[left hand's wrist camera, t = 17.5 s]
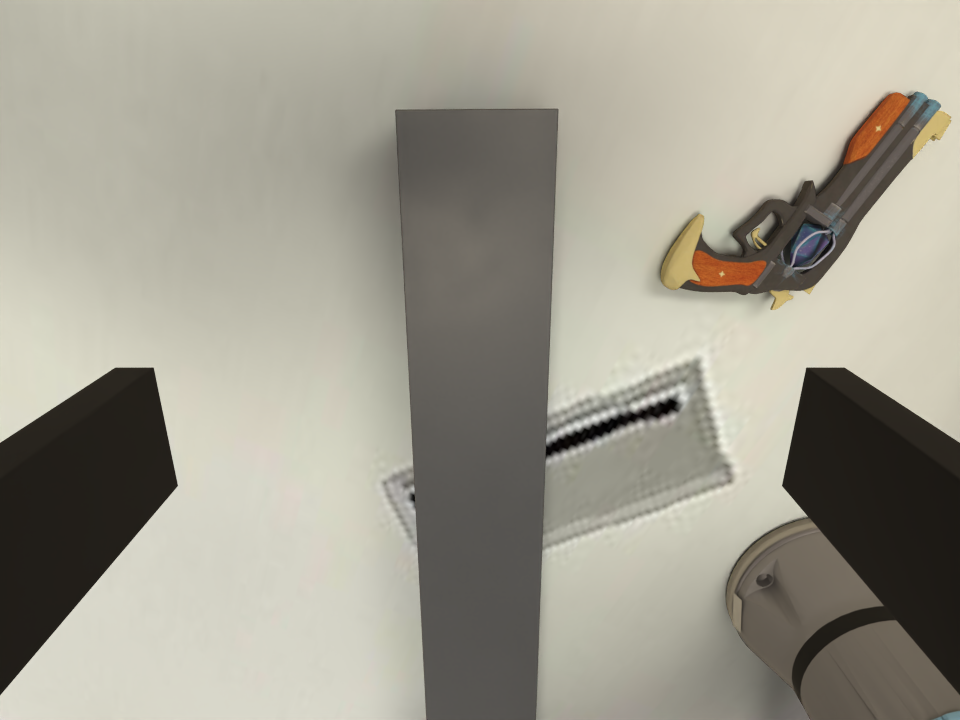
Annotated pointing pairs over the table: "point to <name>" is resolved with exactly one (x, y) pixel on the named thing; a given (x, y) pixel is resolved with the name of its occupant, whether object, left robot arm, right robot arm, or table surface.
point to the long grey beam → (478, 394)
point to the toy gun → (811, 211)
